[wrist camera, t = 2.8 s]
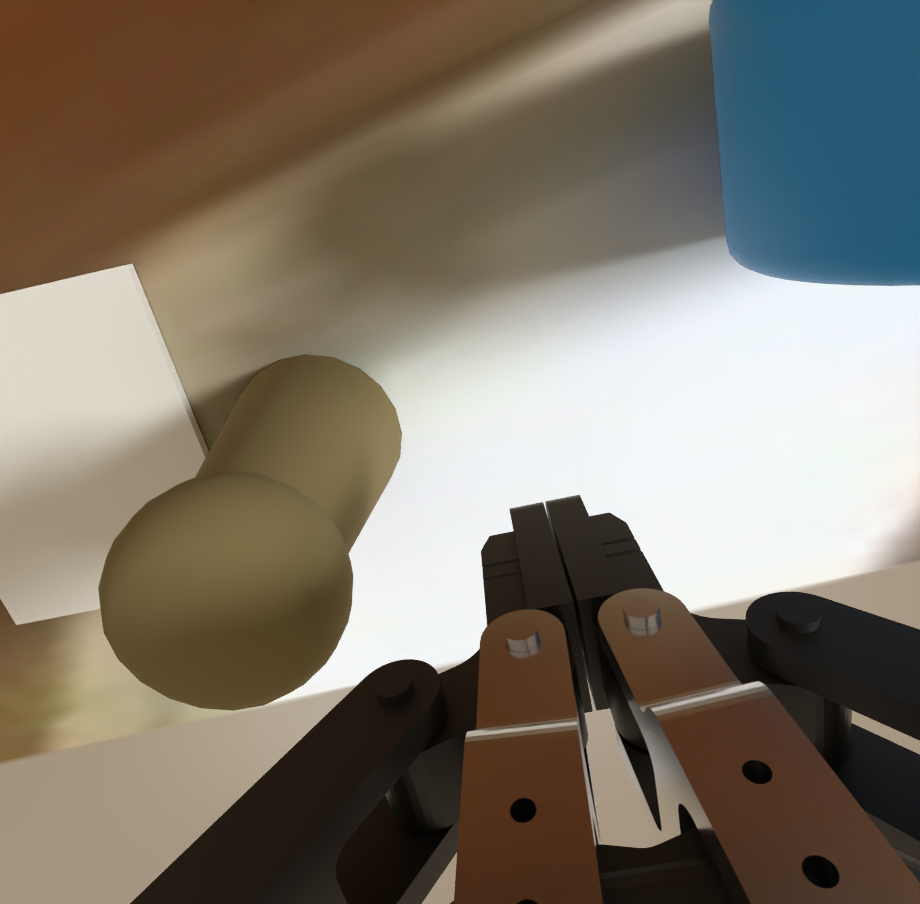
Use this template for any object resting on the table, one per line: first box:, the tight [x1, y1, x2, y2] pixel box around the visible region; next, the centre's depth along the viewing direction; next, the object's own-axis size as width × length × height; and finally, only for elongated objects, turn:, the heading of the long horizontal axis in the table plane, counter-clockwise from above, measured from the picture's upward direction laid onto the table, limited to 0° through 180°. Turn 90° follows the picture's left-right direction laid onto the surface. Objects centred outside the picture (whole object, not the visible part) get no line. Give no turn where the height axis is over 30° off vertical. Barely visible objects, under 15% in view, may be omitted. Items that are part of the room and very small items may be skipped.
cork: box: [98, 355, 402, 710], centre depth 17 cm, size 6×6×11 cm
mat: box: [0, 264, 209, 625], centre depth 22 cm, size 12×10×1 cm
